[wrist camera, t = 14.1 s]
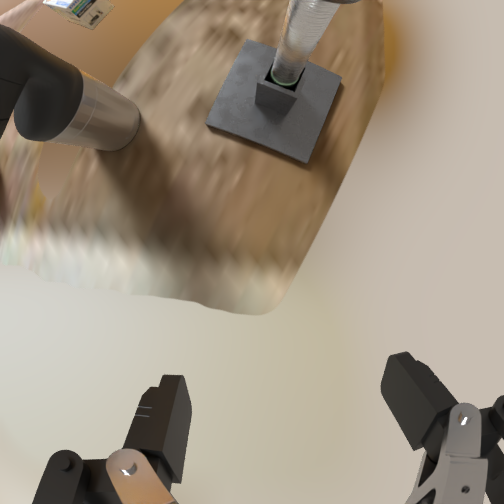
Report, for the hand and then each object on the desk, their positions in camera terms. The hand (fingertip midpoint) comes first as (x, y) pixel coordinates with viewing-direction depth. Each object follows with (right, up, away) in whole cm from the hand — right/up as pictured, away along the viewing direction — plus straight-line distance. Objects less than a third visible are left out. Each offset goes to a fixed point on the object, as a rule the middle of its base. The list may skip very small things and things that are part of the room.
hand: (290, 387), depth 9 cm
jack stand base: (+2, +28, +27) cm, 39 cm away
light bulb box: (-34, +53, +20) cm, 66 cm away
